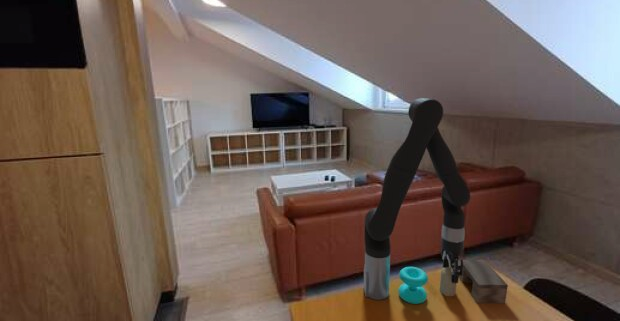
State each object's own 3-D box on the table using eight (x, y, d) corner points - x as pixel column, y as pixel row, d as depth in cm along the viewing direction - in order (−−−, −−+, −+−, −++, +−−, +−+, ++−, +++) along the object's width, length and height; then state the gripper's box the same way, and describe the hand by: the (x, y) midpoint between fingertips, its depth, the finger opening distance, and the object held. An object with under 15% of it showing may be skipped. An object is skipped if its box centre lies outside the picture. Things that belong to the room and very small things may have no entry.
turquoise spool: (395, 266, 115) (419, 263, 117) (394, 289, 118) (418, 286, 119) (407, 282, 106) (433, 279, 107) (405, 307, 108) (431, 303, 109)
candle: (452, 287, 118) (454, 264, 116) (457, 296, 113) (459, 273, 110) (437, 286, 118) (439, 264, 116) (442, 296, 113) (444, 272, 111)
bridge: (476, 302, 109) (478, 284, 107) (458, 276, 125) (459, 259, 123) (505, 303, 109) (507, 285, 107) (483, 276, 124) (484, 260, 122)
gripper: (435, 227, 117) (433, 265, 121) (449, 246, 103) (447, 287, 107) (455, 227, 117) (452, 264, 120) (472, 246, 103) (468, 287, 107)
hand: (450, 275), depth 114 cm, fingers open, 8 cm apart
